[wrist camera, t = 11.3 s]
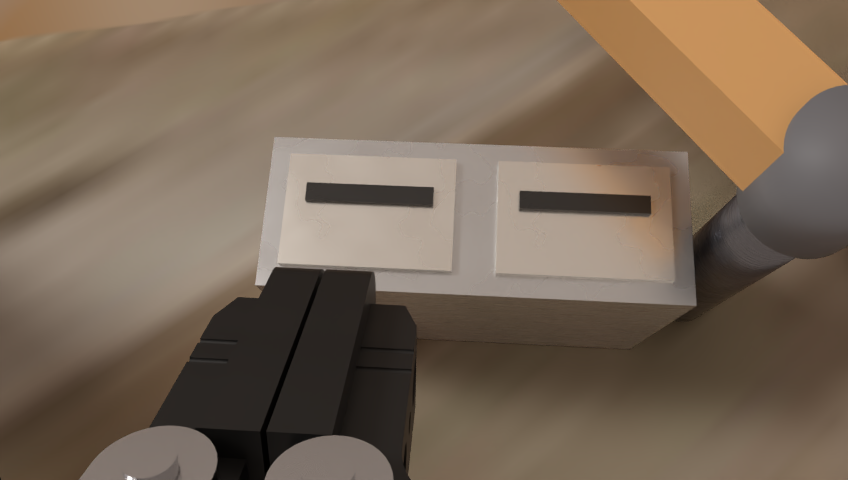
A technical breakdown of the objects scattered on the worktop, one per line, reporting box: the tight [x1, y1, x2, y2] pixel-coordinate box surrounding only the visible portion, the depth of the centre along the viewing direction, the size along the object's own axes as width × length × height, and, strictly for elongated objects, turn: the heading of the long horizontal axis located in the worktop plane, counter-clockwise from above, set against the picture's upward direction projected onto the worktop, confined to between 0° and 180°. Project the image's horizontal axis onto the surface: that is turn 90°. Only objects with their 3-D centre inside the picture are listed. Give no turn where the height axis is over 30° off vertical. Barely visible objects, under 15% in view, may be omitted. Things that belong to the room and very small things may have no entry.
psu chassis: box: [255, 137, 794, 349], centre depth 30 cm, size 20×6×12 cm, turn 87°
